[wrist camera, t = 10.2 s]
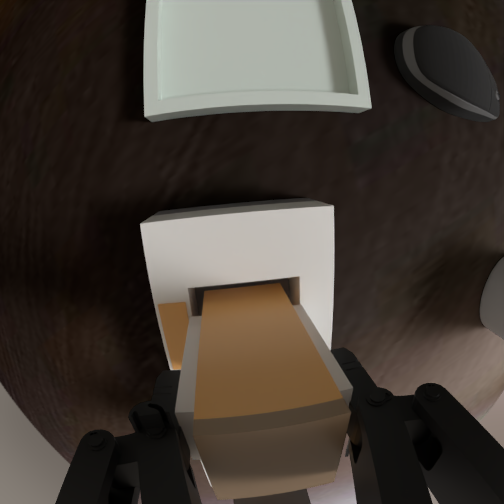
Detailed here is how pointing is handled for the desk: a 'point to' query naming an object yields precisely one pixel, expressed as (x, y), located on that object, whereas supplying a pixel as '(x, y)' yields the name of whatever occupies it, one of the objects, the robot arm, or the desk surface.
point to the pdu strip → (239, 260)
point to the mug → (494, 301)
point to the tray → (252, 57)
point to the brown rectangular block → (263, 397)
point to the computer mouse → (447, 72)
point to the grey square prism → (278, 498)
